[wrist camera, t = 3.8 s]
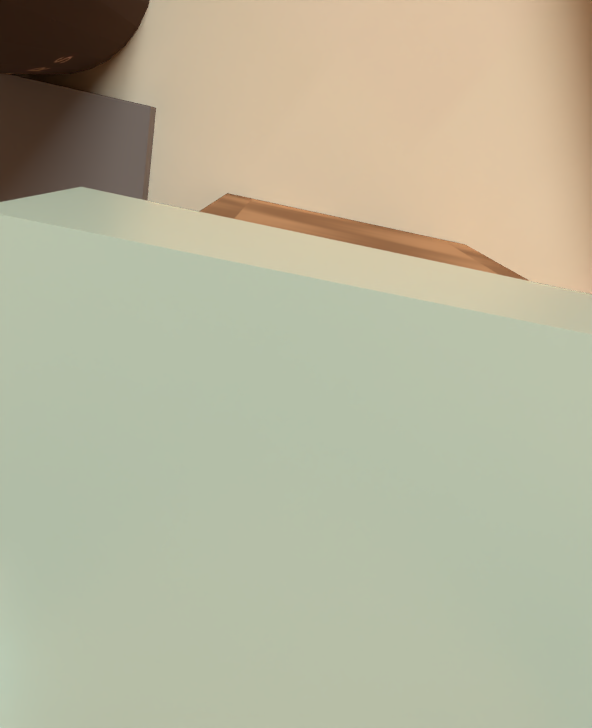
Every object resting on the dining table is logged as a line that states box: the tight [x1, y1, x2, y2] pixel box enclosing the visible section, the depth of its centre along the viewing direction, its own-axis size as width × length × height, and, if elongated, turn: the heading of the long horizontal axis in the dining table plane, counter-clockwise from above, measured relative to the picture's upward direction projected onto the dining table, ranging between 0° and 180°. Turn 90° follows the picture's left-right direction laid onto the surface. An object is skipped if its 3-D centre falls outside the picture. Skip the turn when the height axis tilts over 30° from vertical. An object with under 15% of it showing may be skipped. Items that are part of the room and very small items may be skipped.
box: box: [199, 193, 529, 281], centre depth 16 cm, size 8×13×7 cm, turn 168°
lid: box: [0, 187, 592, 728], centre depth 10 cm, size 10×14×4 cm
